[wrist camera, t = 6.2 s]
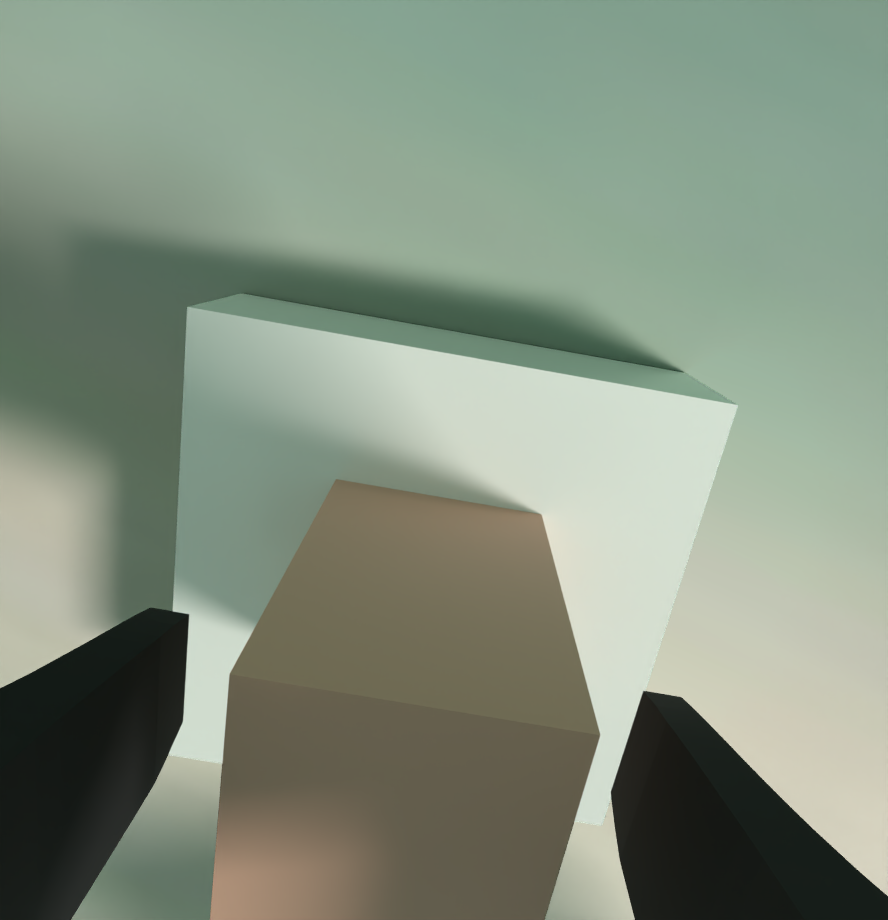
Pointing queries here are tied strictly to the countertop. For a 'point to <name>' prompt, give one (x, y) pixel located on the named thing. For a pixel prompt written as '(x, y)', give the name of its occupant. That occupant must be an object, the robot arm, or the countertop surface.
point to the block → (404, 721)
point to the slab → (434, 479)
